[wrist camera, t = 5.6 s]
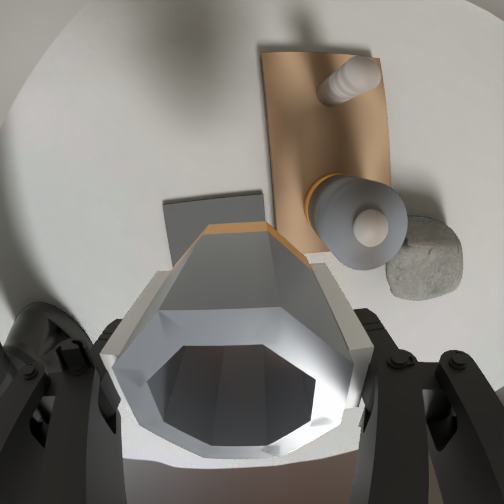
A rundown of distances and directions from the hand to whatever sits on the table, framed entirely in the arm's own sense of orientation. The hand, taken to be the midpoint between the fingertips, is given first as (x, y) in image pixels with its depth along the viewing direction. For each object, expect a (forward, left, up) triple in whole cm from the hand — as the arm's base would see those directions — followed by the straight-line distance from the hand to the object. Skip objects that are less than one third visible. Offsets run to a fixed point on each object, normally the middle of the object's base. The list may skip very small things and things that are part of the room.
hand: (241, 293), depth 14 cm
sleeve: (0, 0, -1) cm, 1 cm away
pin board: (+9, +7, -16) cm, 19 cm away
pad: (-3, -2, -16) cm, 16 cm away
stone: (+19, -5, -16) cm, 25 cm away
